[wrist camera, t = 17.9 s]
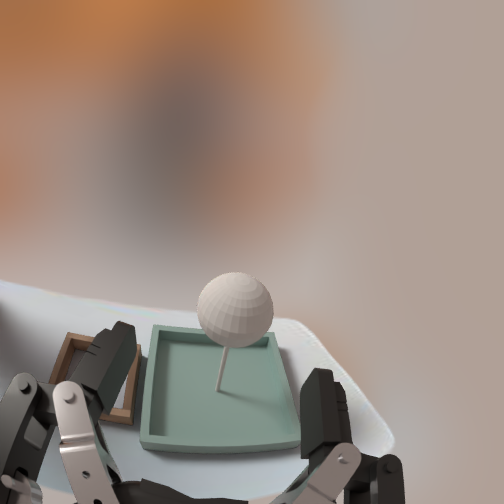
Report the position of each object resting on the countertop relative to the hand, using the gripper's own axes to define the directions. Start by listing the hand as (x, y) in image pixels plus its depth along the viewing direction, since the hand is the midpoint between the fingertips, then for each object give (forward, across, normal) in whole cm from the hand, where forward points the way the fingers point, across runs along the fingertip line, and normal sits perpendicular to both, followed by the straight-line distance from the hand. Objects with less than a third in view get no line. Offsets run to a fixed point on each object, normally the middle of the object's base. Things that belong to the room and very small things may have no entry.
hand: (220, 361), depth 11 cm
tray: (+9, 0, +17) cm, 19 cm away
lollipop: (+8, -1, +17) cm, 19 cm away
